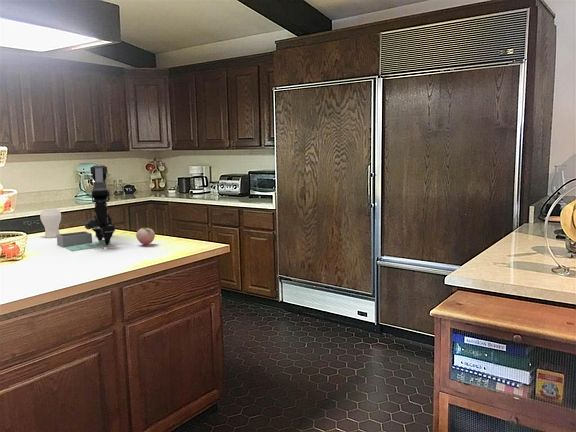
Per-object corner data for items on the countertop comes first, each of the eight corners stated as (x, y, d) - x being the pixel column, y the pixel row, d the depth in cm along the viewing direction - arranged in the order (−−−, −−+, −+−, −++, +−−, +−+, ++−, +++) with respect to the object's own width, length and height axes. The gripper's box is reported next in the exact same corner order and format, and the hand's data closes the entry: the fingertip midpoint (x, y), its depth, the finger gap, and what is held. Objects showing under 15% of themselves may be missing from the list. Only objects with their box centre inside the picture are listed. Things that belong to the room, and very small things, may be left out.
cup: (47, 238, 263) (45, 211, 261) (38, 237, 269) (36, 210, 267) (66, 236, 271) (64, 209, 269) (56, 234, 278) (54, 208, 276)
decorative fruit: (159, 244, 242) (158, 225, 241) (146, 247, 236) (145, 227, 234) (146, 243, 248) (145, 224, 246) (133, 245, 241) (132, 226, 239)
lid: (106, 243, 247) (105, 238, 246) (113, 246, 239) (113, 240, 238) (65, 250, 234) (64, 244, 233) (72, 253, 226) (71, 247, 225)
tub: (85, 242, 251) (85, 231, 250) (92, 245, 244) (91, 233, 243) (57, 246, 242) (56, 234, 241) (63, 249, 235) (62, 237, 234)
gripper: (78, 212, 240) (80, 243, 242) (91, 216, 226) (93, 248, 228) (100, 210, 247) (102, 240, 249) (114, 214, 233) (116, 245, 235)
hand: (103, 243), depth 240 cm, fingers open, 9 cm apart
